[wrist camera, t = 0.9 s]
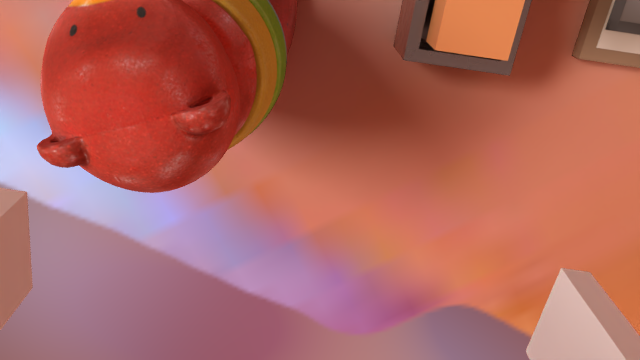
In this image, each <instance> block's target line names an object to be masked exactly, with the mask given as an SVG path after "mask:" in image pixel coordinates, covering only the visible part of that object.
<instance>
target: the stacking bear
mask: <svg viewBox="0 0 640 360" xmlns="http://www.w3.org/2000/svg"><path fill="white" fill-rule="evenodd" d="M296 13H297V0H73V1H72V2H71V4H70V5H69V6H68V7H67V8H66V9H65V11H64V12H63V13H62V14H61V16H60V17H59V19H58V20H57V22H56V23H55V25H54V27H53V29H52V31H51V33H50V35H49V38H48V40H47V44H46V48H45V52H44V57H43V64H42V71H41V96H42V101H43V106H44V110H45V113H46V116H47V120H48V122H49V125H50V127H51V130H52V135H51V136H50V137H48V138H46V139H44V140H42V141H41V142H40V143H39V144H38V145H37V149H38V151H39V153H40V155H41V156H42V158H44V159H45V160H46V161H47V162H49V163H50V164H52V165H55V166H59V167H67V168H68V167H74V166H78V165H80V166H81V167H82V168H83V169H84V170H86V171H87V172H89V173H91V174H92V175H94V176H95V177H97V178H99V179H101V180H103V181H105V182H107V183H109V184H112V185H114V186H117V187H121V188H124V189H128V190H132V191H138V192H150V193H154V192H164V191H170V190H174V189H177V188H180V187H183V186H185V185H187V184H190V183H192V182H194V181H196V180H197V179H199V178H200V177H202V176H203V175H205V174H206V173H207V172H209V171H210V170H211V169H212V168H213V167H214V166H215V165H216V164H217V163H218V162H219V161H220V160H221V158H222V157H223V155H224V154H225V152H226V151H227V150H228V149H229V148H231V147H233V146H235V145H236V144H237V143H239V142H240V141H242V140H243V139H244V138H245V137H247V136H248V135H249V134H251V133H252V132H253V131H254V130H255V129H256V128H257V127H258V126H259V125H260V124H261V123H262V122H263V121H264V119H265V118H266V117H267V115H268V114H269V113H270V111H271V109H272V108H273V106H274V104H275V103H276V101H277V99H278V96H279V94H280V91H281V89H282V86H283V82H284V78H285V72H286V63H287V54H288V51H289V48H290V45H291V41H292V38H293V34H294V28H295V23H296Z"/></svg>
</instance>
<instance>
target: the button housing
mask: <svg viewBox="0 0 640 360" xmlns="http://www.w3.org/2000/svg"><path fill="white" fill-rule="evenodd" d="M531 1H532V0H525V2H524V6H523V9H522V13H521V16H520V20H519V23H518V27H517V30H516V34H515V37H514V41H513V44H512V48H511V51H510V55H509V58H508V61H505V60H498V59H492V58H485V57H478V56H471V55H464V54H458V53H451V52H444V51H437V50H434V49H433V48H432V47H431V46H430V45H429V44H428V43H427V42H426V38H427V34H428V29H429V25H430V20H431V16H432V11H433V7H434V2H435V0H403V1H402V6H401V12H400V17H399V22H398V27H397V32H396V37H395V42H394V47H395V49H396V50H397V52H398V53H399V54H400V56H401V57H402V59H403V60H406V61H413V62H420V63H427V64H434V65H440V66H447V67H454V68H461V69H468V70H475V71H482V72H489V73H496V74H502V75H509V76H510V73H511V70H512V66H513V63H514V59H515V56H516V53H517V49H518V46H519V42H520V39H521V35H522V32H523V28H524V25H525V21H526V18H527V15H528V11H529V8H530V4H531Z"/></svg>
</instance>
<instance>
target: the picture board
mask: <svg viewBox="0 0 640 360" xmlns="http://www.w3.org/2000/svg"><path fill="white" fill-rule="evenodd" d="M572 56H574V57H576V58H578V59H583V60H589V61H596V62H603V63H610V64H616V65H623V66H630V67H637V68H640V0H590V2H589V5H588V8H587V11H586V14H585V17H584V20H583V23H582V26H581V29H580V32H579V35H578V38H577V41H576V44H575V47H574V50H573V53H572Z"/></svg>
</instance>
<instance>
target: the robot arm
mask: <svg viewBox="0 0 640 360" xmlns="http://www.w3.org/2000/svg"><path fill="white" fill-rule="evenodd" d="M31 289H32V271H31V252H30V236H29V217H28V200H27V192H25V191H18V190H11V189H4V188H0V330H1V329H2V327H3V326H4V325H5V323H6V322H7V321H8V319H9V318H10V317H11V316H12V314H13V313H14V312H15V310H16V309H17V308H18V306H19V305H20V304H21V302H22V301H23V300H24V298H25V297H26V296H27V294H28V293H29V291H30V290H31ZM526 353H527V355H528V357H529V359H530V360H640V336H639V334H638V333H637V332H636V331H635V329H634V328H633V327H632V325H631V324H630V323H629V322H628V320H627V319H626V318H625V316H624V315H623V314H622V313H621V311H620V310H619V309H618V308H617V306H616V305H615V304H614V302H613V301H612V300H611V299H610V297H609V296H608V295H607V293H606V292H605V291H604V290H603V288H602V287H601V286H600V285H599V283H598V282H597V281H596V279H595V278H594V277H593V276H592V274H591V273H590V272H586V271H579V270H572V269H565V268H561V270H560V272H559V274H558V277H557V279H556V281H555V284H554V286H553V288H552V291H551V293H550V295H549V298H548V300H547V302H546V305H545V307H544V310H543V312H542V314H541V317H540V319H539V321H538V324H537V326H536V328H535V331H534V333H533V335H532V338H531V340H530V342H529V345H528V347H527V350H526Z"/></svg>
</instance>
